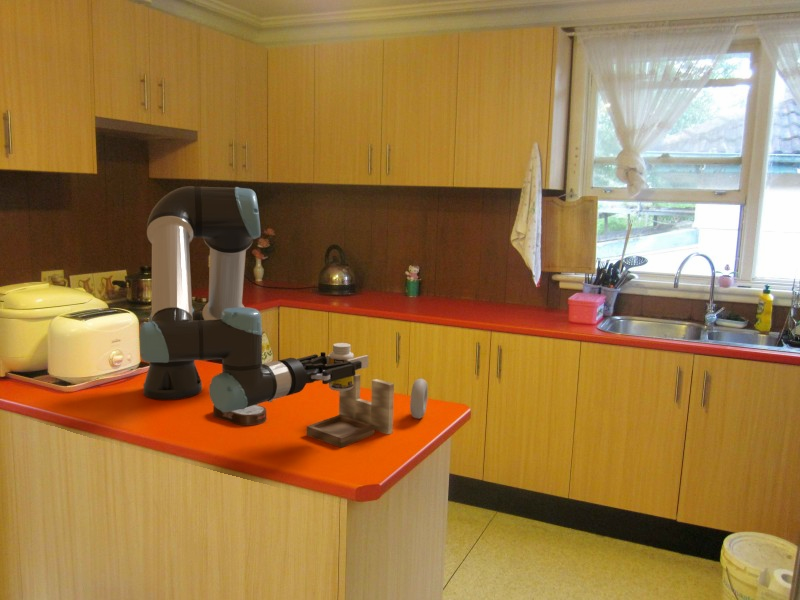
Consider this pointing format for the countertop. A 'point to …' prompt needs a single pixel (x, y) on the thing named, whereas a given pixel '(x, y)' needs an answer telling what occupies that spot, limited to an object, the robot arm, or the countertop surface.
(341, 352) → the supplement bottle
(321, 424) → the square tray
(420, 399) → the donut
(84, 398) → the countertop surface
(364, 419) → the notched board
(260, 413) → the tin
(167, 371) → the robot arm
